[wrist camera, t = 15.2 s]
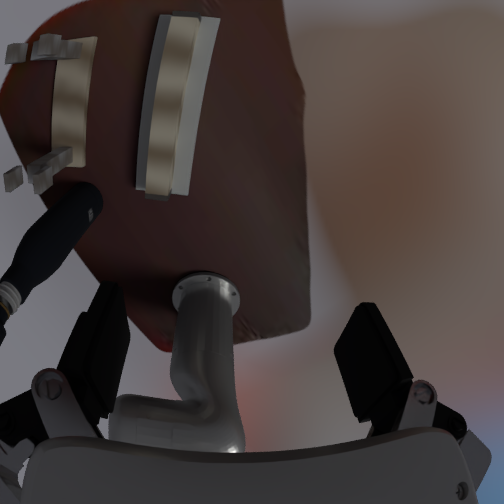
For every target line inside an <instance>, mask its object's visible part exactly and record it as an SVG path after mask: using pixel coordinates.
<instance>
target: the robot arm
mask: <svg viewBox="0 0 504 504" xmlns="http://www.w3.org/2000/svg"><path fill="white" fill-rule="evenodd" d="M172 301H173V305H174V307H175V309H176V310H177V311H178V316H177V323H176V329H175V336H174V343H173V350H172V358H171V365H170V378H171V381H172V384H173V386H174V388H175V390H176V392H177V393H178V395H179V396H180V397H181V399H182V400H183V401H181V400H168V399H160V398H153V397H148V396H141V395H134V394H124V395H120V396H118V397H117V398H116V396H117V392H118V387H119V383H120V379H121V374H122V370H123V366H124V362H125V358H126V354H127V351H128V347H129V343H130V330H129V325H128V320H127V314H126V308H125V302H124V296H123V290H122V287H118V284H117V282H110V281H102V282H101V284H100V286H99V288H98V290H97V292H96V294H95V296H94V299H93V300H92V302H91V305H90V307H89V309H88V311H87V312H82V313H81V314H80V315H79V317H78V319H77V322H76V324H75V326H74V328H73V330H72V333H71V335H70V337H69V339H68V342H67V344H66V346H65V349H64V351H63V354H62V356H61V359H60V361H59V364H58V366H57V369H54V368H46V369H43V370H41V371H40V372H38V373H37V374H36V375H35V376H34V378H33V380H32V384H31V389H30V390H28V391H26V392H24V393H22V394H20V395H18V396H16V397H14V398H12V399H10V400H8V401H6V402H4V403H1V404H0V504H478V500H477V496H476V491H477V489H478V487H479V485H480V483H481V482H482V480H483V477H484V476H485V474H486V472H487V470H488V467H489V465H490V463H491V453H490V450H489V449H488V448H487V447H486V446H485V445H484V444H483V443H482V442H481V441H480V440H479V439H478V438H477V437H476V436H475V435H474V434H473V433H472V432H471V431H470V430H468V431H467V425H466V421H465V419H464V418H463V417H462V415H460V414H459V413H457V412H456V411H454V410H452V409H450V408H449V407H447V406H445V405H443V404H442V403H440V402H438V401H437V393H436V390H435V388H434V387H433V386H432V385H431V384H430V383H429V382H427V381H424V380H417V381H415V382H414V383H413V382H412V379H413V378H414V377H413V375H412V373H411V371H410V368H409V366H408V364H407V362H406V360H405V358H404V357H403V354H402V352H401V351H400V348H399V347H398V345H397V343H396V341H395V339H394V337H393V335H392V333H391V331H390V329H389V328H388V326H387V324H386V322H385V320H384V318H383V317H382V315H381V313H380V311H379V309H378V308H377V306H376V304H375V303H369V302H362V303H360V304H359V306H357V307H356V308H355V310H354V312H353V314H352V315H351V317H350V319H349V321H348V323H347V325H346V327H345V329H344V330H343V332H342V334H341V336H340V338H339V339H338V341H337V343H336V345H335V347H334V355H335V358H336V361H337V364H338V366H339V370H340V373H341V376H342V379H343V382H344V385H345V388H346V391H347V394H348V397H349V400H350V404H351V407H352V410H353V413H354V416H355V417H357V418H358V421H359V423H362V422H367V421H370V420H371V423H372V426H371V428H370V430H369V433H368V435H367V437H366V438H365V439H361V440H355V441H350V442H345V443H340V444H334V445H327V446H321V447H314V448H305V449H297V450H286V451H272V452H244V451H245V434H244V429H243V425H242V421H241V417H240V413H239V409H238V405H237V399H236V391H235V377H234V354H233V328H232V316H233V315H234V314H235V313H236V312H237V310H238V308H239V305H240V295H239V291H238V289H237V287H236V286H235V285H234V284H233V283H232V282H231V281H230V280H229V279H227V278H226V277H224V276H222V275H219V274H216V273H210V272H198V273H193V274H190V275H187V276H185V277H183V278H182V279H181V280H180V281H178V283H177V284H176V285H175V287H174V290H173V294H172ZM109 413H110V414H109ZM108 414H109V440H108V439H105V438H104V437H103V435H102V433H101V432H100V430H99V428H98V427H97V424H99V420H100V417H101V418H105V419H108ZM27 458H30V459H29V461H28V464H27V468H26V471H25V476H24V480H23V486H22V488H21V487H20V485H19V482H18V473H19V471H20V470H21V468H22V467H23V466H24V465H23V462H25V460H26V459H27Z"/></svg>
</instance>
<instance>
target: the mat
mask: <svg viewBox="0 0 504 504" xmlns="http://www.w3.org/2000/svg"><path fill="white" fill-rule="evenodd" d="M171 17H172V15H160V17H159V21H158V25H157V29H156V33H155V38H154V42H153V47H152V52H151V57H150V62H149V67H148V73H147V79H146V85H145V92H144V99H143V106H142V114H141V123H140V133H139V144H138V157H137V173H136V189H137V190H145V189H146V173H147V160H148V149H149V139H150V130H151V122H152V114H153V107H154V100H155V93H156V87H157V81H158V76H159V70H160V65H161V60H162V55H163V50H164V46H165V41H166V37H167V33H168V29H169V25H170V21H171ZM201 18H202V19H201V23H200V27H199V31H198V35H197V39H196V43H195V47H194V52H193V56H192V61H191V66H190V70H189V75H188V80H187V86H186V91H185V97H184V102H183V108H182V114H181V120H180V127H179V134H178V141H177V148H176V156H175V164H174V173H173V182H172V192H171V193H172V194H180V195H188V192H189V184H190V176H191V169H192V162H193V155H194V148H195V141H196V135H197V129H198V123H199V117H200V111H201V106H202V100H203V95H204V90H205V85H206V80H207V75H208V70H209V65H210V61H211V56H212V52H213V47H214V43H215V39H216V35H217V31H218V27H219V23H220V18H212V17H201Z"/></svg>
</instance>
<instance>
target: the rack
mask: <svg viewBox="0 0 504 504" xmlns="http://www.w3.org/2000/svg"><path fill="white" fill-rule="evenodd" d="M97 38H98V37H87V38H80V39H73V40H61V35H54V34H44V35H40V40H39V41H36V42H34V44H33V49H32V55H31V60H58V61H57V68H56V75H55V84H54V95H53V109H52V151H51V152H50V153H48V154H46V155H44V156H43V157H41V158H39V159H37V160H36V161H34V162H32V163H31V164H29V165H27V173H28V183H33V185H34V193H35V194H42V193H43V192H44V191H45V190H47V189H48V188H49V187H50V186H52V185H53V178H52V176H53V175H54V174H56V173H57V172H59V171H60V170H61V169H63V168H64V167H84V166H85V141H86V120H87V106H88V95H89V86H90V78H91V71H92V65H93V59H94V53H95V47H96V42H97ZM27 47H28V44H27V43H13V44H10V45H8V47H7V52H6V59H5V64H14V63H22V62H25V59H26V52H27ZM4 183H5V190H6V192H12V191H13V190H14V189H16V188H17V187H18V186H20V185H21V184H23V175H22V166H16V167H14V168H12V169H11V170H9V171H7V172H6V173H4Z"/></svg>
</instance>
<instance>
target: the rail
mask: <svg viewBox="0 0 504 504" xmlns="http://www.w3.org/2000/svg"><path fill="white" fill-rule="evenodd" d="M201 19H202V18H201V15H200V13H199V12H186V11H173V13H172V17H171V21H170V25H169V29H168V33H167V37H166V41H165V46H164V50H163V55H162V60H161V65H160V70H159V76H158V81H157V87H156V93H155V100H154V107H153V114H152V122H151V130H150V139H149V149H148V160H147V173H146V189H145V199H154V200H162V201H168V199H169V197H170V195H171V192H172V182H173V173H174V164H175V156H176V148H177V141H178V134H179V127H180V120H181V114H182V108H183V102H184V97H185V91H186V86H187V80H188V75H189V70H190V66H191V61H192V56H193V52H194V47H195V43H196V39H197V35H198V31H199V27H200V23H201Z"/></svg>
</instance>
